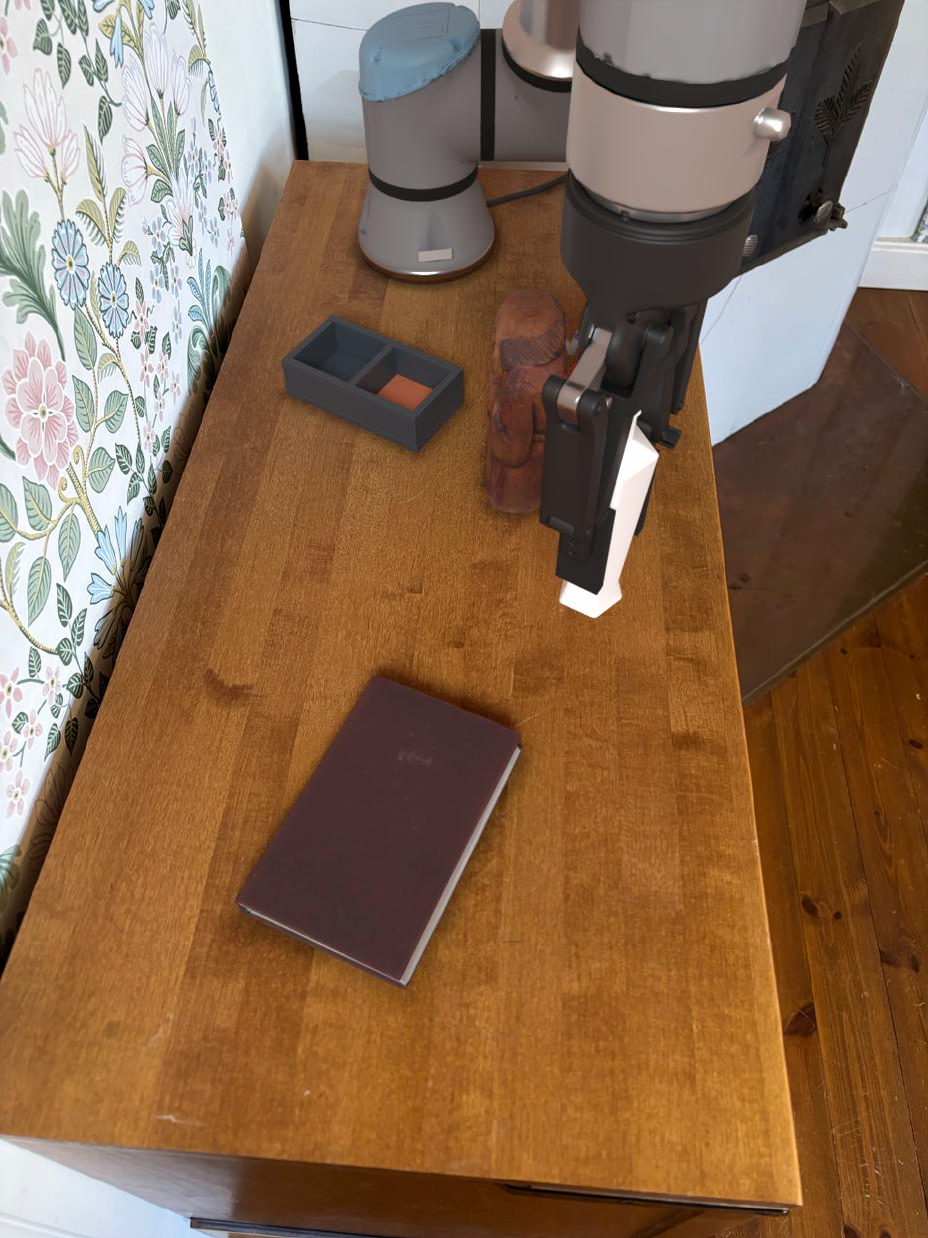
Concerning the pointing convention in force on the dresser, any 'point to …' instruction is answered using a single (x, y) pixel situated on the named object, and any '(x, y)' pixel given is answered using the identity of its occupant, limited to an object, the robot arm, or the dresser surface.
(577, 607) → the perfume bottle
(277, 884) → the book
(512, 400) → the wooden figurine
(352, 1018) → the dresser surface
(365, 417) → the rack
